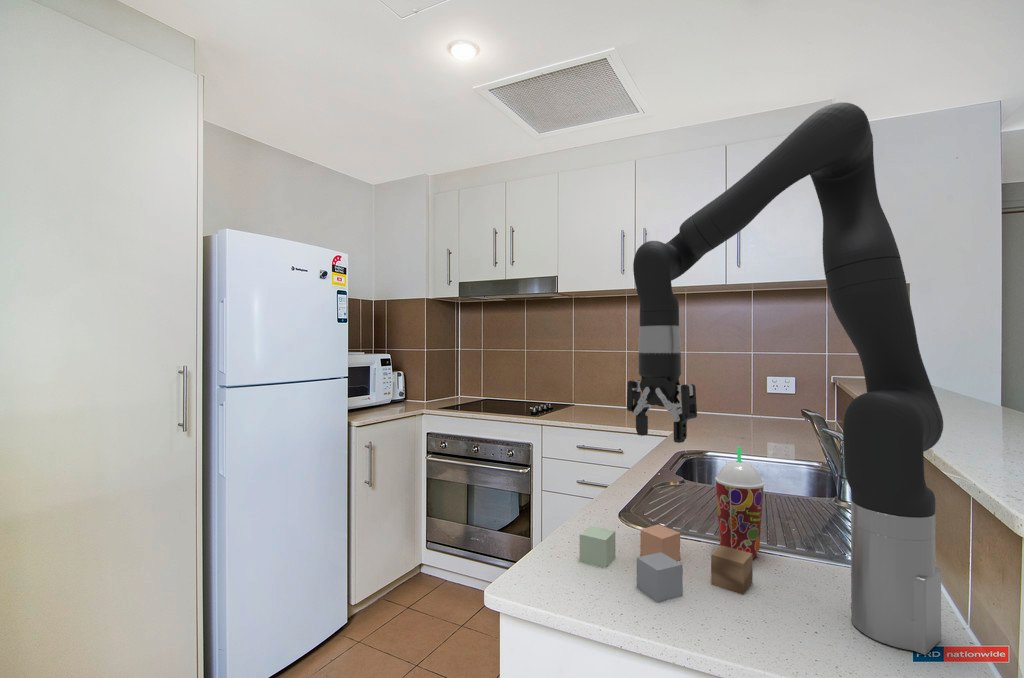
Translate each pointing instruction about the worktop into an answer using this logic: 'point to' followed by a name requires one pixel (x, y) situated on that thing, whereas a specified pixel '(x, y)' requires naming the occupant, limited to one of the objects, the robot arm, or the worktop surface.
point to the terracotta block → (660, 541)
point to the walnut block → (732, 569)
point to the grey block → (659, 577)
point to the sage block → (597, 546)
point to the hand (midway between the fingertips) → (660, 438)
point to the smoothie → (739, 505)
